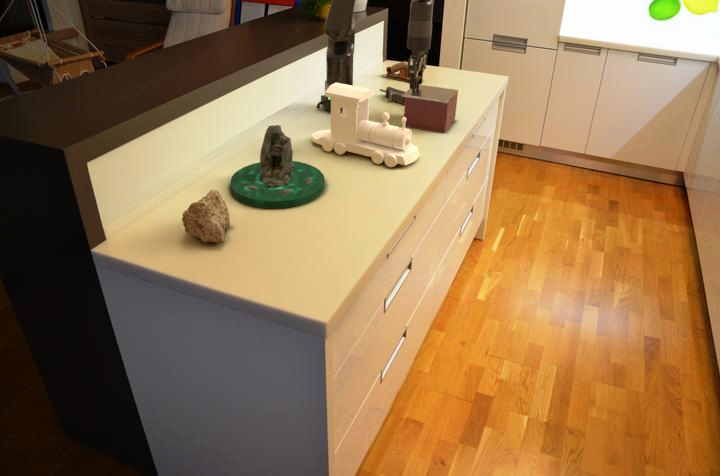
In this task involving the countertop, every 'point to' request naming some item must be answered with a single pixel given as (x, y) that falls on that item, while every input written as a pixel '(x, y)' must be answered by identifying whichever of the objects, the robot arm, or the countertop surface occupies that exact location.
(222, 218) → the rock
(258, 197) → the diorama
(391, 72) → the sculpture
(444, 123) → the open wooden cubby
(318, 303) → the countertop surface
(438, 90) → the lid
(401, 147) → the toy train
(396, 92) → the toy gun
